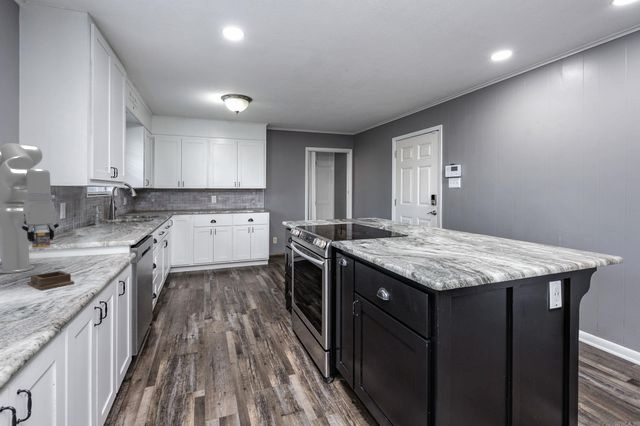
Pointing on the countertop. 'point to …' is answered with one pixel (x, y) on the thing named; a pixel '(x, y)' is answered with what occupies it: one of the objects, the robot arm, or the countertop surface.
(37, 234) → the pill bottle
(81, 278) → the countertop surface
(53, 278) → the socket board
